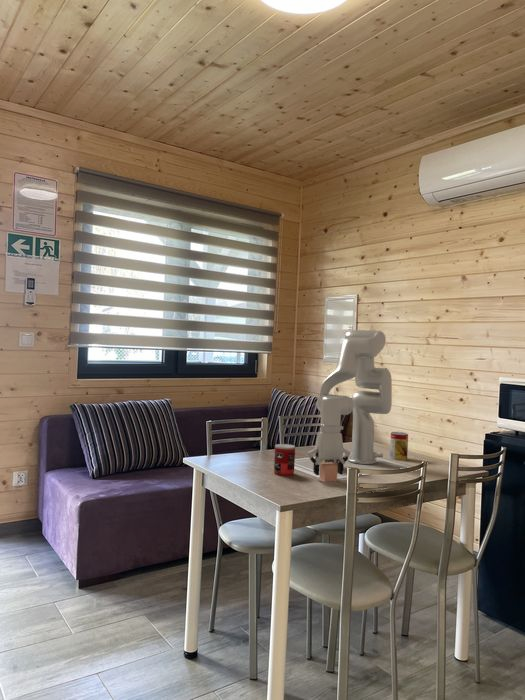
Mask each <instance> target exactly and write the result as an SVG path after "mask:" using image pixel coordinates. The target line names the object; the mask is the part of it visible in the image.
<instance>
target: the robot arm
mask: <svg viewBox="0 0 525 700" xmlns="http://www.w3.org/2000/svg"><path fill="white" fill-rule="evenodd" d="M385 345H386V335H385V333H384V332H383V331H381V330H367V329H354V330H353V329H352V330H348V331H347V332H345V335H344V340H343V341H342V343H341V346H340V351H339V355H338V359H337V361H336V362H337V363H336V367H335V369H334V371H333V372H331V373H329V375H328V376H327V377H326V378H325V379H324V380H323V382H322V384H321V385H320V387H319V390H318V395H317V401H316V407H317V410H318V411H319V412H320V427H319V431H318V432H317V435H316V438H315V440H316V441H315V444H314V445H315V447H314V448H313V449H311V450H309V451H308V452H307V456H308V457H309V460H310V461H311V462H312V463H313V471H312V472H313V473H314V475H316V476H320V465H319V462H320V461H321V460H333V459H338V461H339V462H338V468H337V474H339V475H341V476H343V472H344V468H345V467H344V466H345V465H344V464H345V463H346V462H347V461H348V462H350V463H354V464H359V465H374V464H376V463H377V458H383V457H384V453H382V452H376V451H374V443H375V442H374V439H375V420H374V418H373V417H372V415H371V414H379V415H387V414H389V413H390V412H391V410H392V404H393V403H392V399H393V398H392V395H393V394H392V393H393V392H392V391H393V390H392V389H393V388H392V387H393V386H392V385H393V384H392V383H393V382H392V380H393V379H392V374H391V371H390V370H389V369H387V368H383V367H375V358H376V357H377V356H378V354H380V353H381V352H382V351H383V350H384V348H385ZM352 379H354V381H355V382H354V383H355V385H356V387H358V388H360V389H367V390H358V391H355V392H354V393H353V394H352V397H350V396H348V395H341V394H340V395H339V394H331V393H330V392H331V390H332V389H333V388H334V387H336V386H337V385H339V384H341V383H344V382H346V381H349V380H352ZM369 390H378V391H369ZM351 413H352V433H351V434H352V437H351V452H350V451H349V450H348V449H345V448H344V443H343V435H342V433H341V430H344V426H342V425H341V419H342V416H347V415H349V414H351Z"/></svg>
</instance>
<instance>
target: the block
mask: <svg viewBox="0 0 525 700" xmlns="http://www.w3.org/2000/svg"><path fill="white" fill-rule="evenodd" d="M337 466H338V465H336V464H334V463H332V462H329V463H320V465H319V479H320V478H321V479H322V481H323V480H324V482H338V473H337ZM321 479H320V480H321Z"/></svg>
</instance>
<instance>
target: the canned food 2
mask: <svg viewBox="0 0 525 700" xmlns="http://www.w3.org/2000/svg"><path fill="white" fill-rule="evenodd" d="M389 441H390V443H389V444H390V447H389V459H390V460H394V461H402V462H403V461H407V460H408V447H409V446H408V445H409V433H408V432H403V431H391V432H390V440H389Z"/></svg>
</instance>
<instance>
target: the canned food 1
mask: <svg viewBox="0 0 525 700" xmlns="http://www.w3.org/2000/svg"><path fill="white" fill-rule="evenodd" d="M273 456H274V460H273V462H274V463H273V473H274V474H275V475H276V476H281V477H290V476H293V475H294V474H295V463H296V462H295V461H296V460H295V459H296V458H295V457H296V445H293V444H286V443H277V444H275V445H274V455H273Z"/></svg>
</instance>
